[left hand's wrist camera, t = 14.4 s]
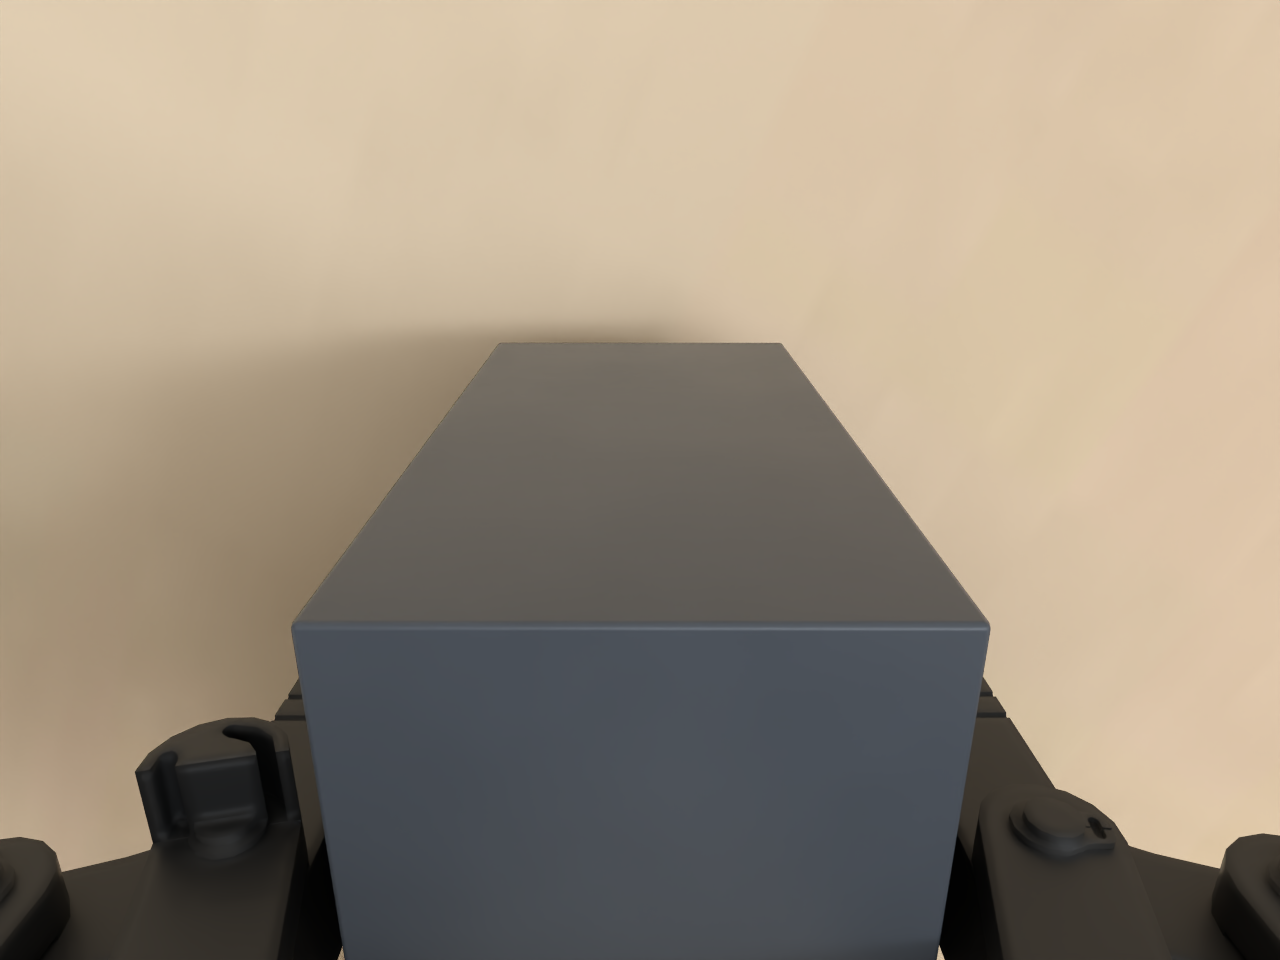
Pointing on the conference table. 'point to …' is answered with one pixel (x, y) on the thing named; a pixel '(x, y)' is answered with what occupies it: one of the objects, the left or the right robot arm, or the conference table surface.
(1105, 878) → the left robot arm
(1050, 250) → the conference table surface
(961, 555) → the conference table surface
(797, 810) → the bar
